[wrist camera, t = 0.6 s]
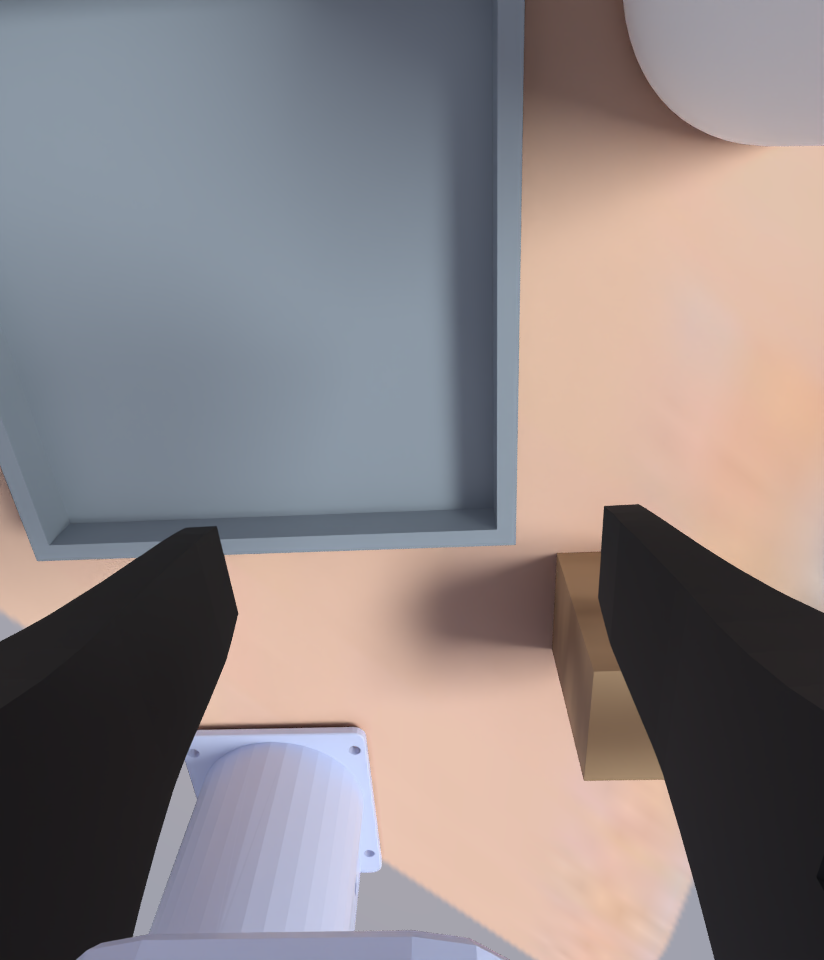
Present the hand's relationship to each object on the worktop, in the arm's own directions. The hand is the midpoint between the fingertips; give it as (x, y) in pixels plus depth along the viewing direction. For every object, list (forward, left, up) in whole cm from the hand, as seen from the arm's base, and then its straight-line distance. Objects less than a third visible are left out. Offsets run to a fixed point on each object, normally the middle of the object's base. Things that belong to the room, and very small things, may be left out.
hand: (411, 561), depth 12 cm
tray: (+3, +5, -10) cm, 11 cm away
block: (-9, -7, -10) cm, 15 cm away
